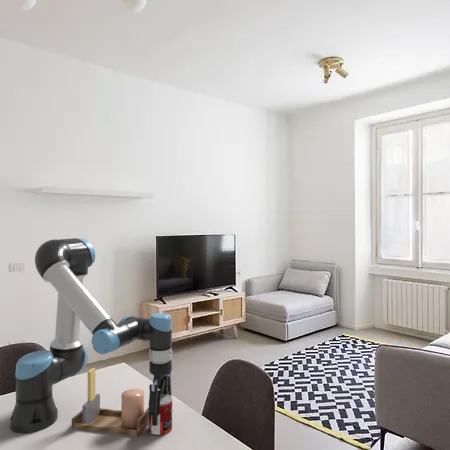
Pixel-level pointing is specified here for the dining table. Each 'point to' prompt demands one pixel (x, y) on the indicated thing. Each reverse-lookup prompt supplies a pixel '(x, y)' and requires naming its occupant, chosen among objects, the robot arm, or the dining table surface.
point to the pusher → (91, 400)
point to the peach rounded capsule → (131, 408)
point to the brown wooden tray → (111, 422)
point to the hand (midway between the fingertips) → (160, 427)
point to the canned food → (164, 415)
